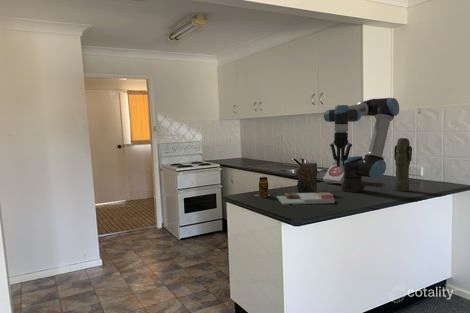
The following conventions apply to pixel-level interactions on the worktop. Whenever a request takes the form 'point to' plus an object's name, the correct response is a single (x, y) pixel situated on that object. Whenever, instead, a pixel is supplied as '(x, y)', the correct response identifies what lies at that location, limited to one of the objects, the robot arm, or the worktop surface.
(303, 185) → the knife block
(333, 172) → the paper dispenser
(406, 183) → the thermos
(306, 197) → the pale grey square slab
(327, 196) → the terracotta tile
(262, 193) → the condiment
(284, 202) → the mat
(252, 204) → the worktop surface
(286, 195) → the walnut coaster
